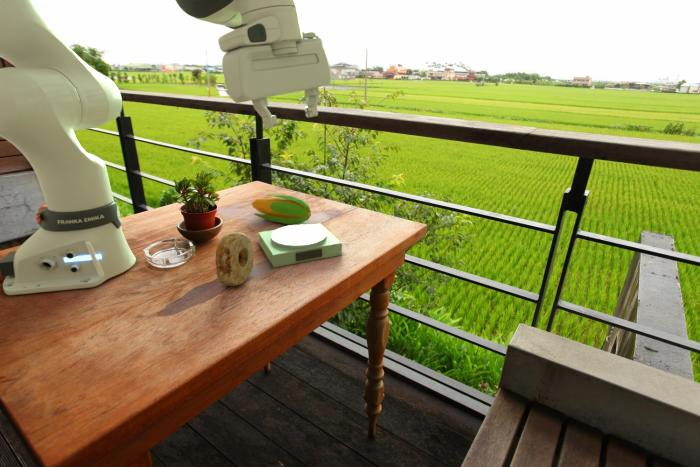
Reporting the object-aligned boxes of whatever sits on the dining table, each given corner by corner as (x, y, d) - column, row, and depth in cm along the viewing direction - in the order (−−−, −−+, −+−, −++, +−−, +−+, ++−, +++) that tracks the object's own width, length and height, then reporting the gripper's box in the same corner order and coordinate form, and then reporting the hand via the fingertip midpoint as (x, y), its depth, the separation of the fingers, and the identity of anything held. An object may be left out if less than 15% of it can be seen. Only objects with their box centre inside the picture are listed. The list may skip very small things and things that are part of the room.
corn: (301, 202, 100) (241, 192, 109) (301, 230, 103) (242, 218, 111) (316, 197, 107) (258, 188, 115) (316, 223, 109) (259, 212, 117)
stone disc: (233, 295, 72) (228, 246, 69) (215, 292, 73) (209, 244, 69) (258, 270, 82) (254, 226, 78) (242, 268, 83) (238, 224, 79)
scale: (274, 268, 83) (273, 252, 81) (259, 243, 95) (257, 229, 93) (342, 255, 89) (342, 240, 88) (320, 233, 101) (319, 220, 100)
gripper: (307, 34, 71) (321, 112, 76) (208, 40, 57) (234, 134, 62) (331, 27, 67) (345, 109, 72) (231, 31, 53) (257, 133, 58)
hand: (293, 121), depth 67 cm, fingers open, 8 cm apart
